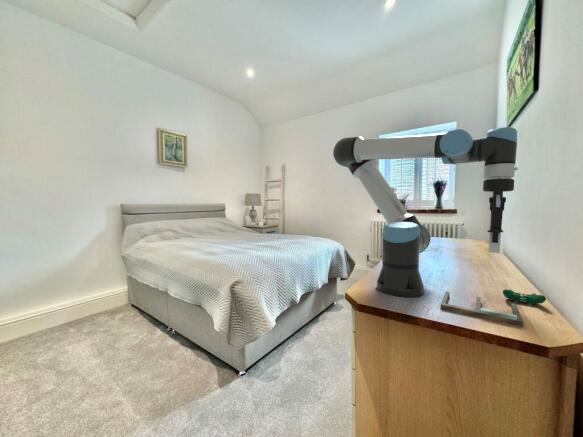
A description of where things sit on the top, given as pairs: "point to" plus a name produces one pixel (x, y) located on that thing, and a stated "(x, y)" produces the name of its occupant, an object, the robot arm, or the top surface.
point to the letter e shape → (485, 312)
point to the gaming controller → (524, 297)
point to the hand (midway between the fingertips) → (493, 252)
